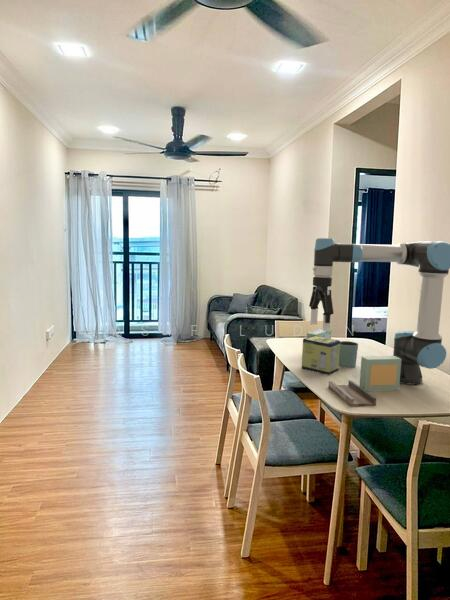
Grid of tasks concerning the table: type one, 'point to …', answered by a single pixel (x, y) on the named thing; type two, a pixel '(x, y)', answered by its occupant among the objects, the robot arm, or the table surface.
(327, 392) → the table surface
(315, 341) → the protein box
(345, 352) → the green cup
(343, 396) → the facing shelf
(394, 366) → the cracker box
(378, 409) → the table surface
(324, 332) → the snack box
